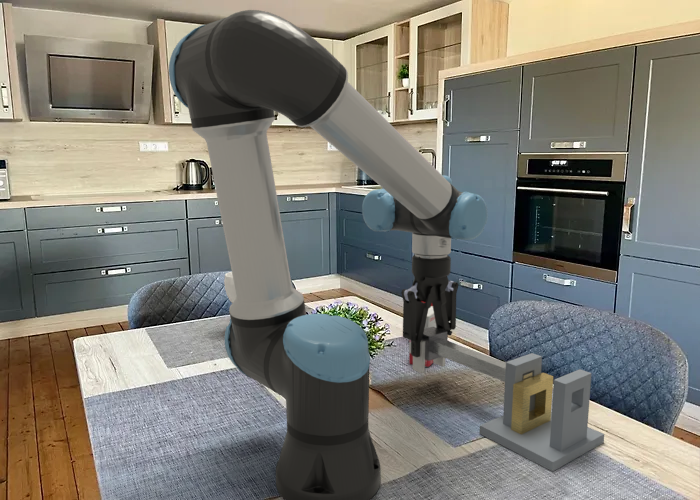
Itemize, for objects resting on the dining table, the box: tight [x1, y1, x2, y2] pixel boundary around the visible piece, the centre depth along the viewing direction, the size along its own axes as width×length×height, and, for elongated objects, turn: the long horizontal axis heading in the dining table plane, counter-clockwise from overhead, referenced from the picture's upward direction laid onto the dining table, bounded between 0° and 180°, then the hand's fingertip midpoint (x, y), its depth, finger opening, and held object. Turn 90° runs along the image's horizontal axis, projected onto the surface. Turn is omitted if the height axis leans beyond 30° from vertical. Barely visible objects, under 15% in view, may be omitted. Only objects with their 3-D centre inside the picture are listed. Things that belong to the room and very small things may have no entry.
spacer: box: [511, 372, 554, 434], centre depth 93 cm, size 8×2×8 cm, turn 126°
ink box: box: [408, 306, 437, 368], centre depth 126 cm, size 9×5×12 cm, turn 150°
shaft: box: [416, 327, 532, 383], centre depth 103 cm, size 5×25×5 cm, turn 36°
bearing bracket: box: [479, 352, 605, 472], centre depth 91 cm, size 14×14×12 cm
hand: (429, 367), depth 113 cm, fingers closed on shaft, 5 cm apart
